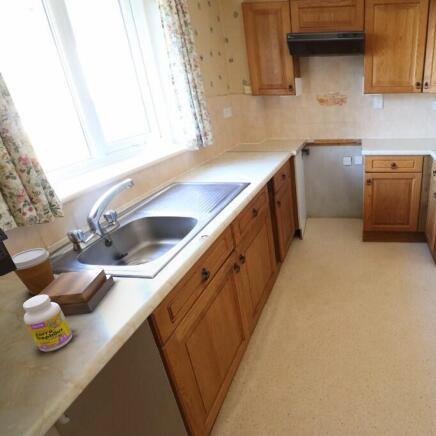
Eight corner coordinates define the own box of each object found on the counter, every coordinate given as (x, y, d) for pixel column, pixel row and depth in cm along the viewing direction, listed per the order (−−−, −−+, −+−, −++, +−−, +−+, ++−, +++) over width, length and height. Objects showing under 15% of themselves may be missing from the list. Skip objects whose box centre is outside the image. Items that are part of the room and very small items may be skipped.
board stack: (36, 318, 88) (27, 301, 85) (67, 287, 100) (59, 271, 98) (91, 312, 89) (83, 294, 87) (114, 282, 102) (108, 266, 99)
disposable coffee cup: (18, 301, 95) (-1, 267, 90) (30, 284, 103) (13, 252, 98) (57, 292, 98) (41, 259, 93) (66, 276, 106) (51, 244, 101)
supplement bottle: (39, 357, 75) (14, 314, 70) (41, 340, 80) (18, 299, 75) (73, 343, 79) (52, 302, 73) (73, 328, 84) (54, 288, 78)
